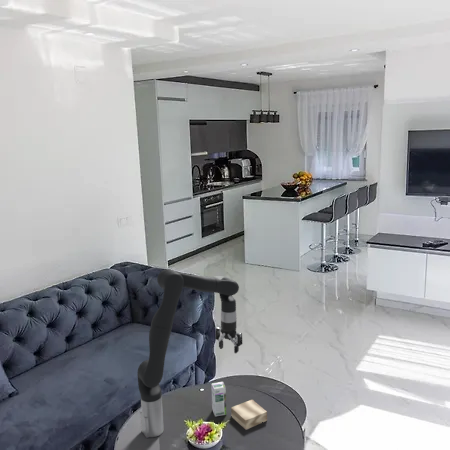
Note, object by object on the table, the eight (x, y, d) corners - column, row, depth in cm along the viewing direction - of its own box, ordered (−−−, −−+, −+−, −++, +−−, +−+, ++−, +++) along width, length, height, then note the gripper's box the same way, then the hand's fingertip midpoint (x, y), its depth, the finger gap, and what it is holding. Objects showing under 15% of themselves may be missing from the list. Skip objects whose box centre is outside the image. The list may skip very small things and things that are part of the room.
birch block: (245, 430, 207) (245, 420, 206) (231, 417, 217) (231, 407, 216) (267, 421, 214) (267, 411, 213) (252, 408, 224) (252, 399, 223)
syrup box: (215, 417, 217) (214, 389, 214) (212, 410, 223) (211, 382, 220) (226, 414, 219) (225, 387, 216) (223, 407, 224) (222, 380, 221)
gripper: (212, 318, 222) (212, 349, 225) (236, 325, 214) (236, 357, 217) (220, 313, 228) (220, 344, 231) (245, 319, 220) (245, 351, 223)
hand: (228, 350), depth 224 cm, fingers open, 8 cm apart
